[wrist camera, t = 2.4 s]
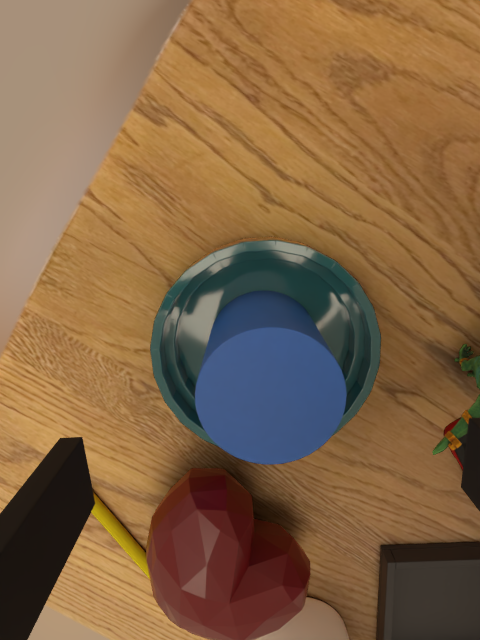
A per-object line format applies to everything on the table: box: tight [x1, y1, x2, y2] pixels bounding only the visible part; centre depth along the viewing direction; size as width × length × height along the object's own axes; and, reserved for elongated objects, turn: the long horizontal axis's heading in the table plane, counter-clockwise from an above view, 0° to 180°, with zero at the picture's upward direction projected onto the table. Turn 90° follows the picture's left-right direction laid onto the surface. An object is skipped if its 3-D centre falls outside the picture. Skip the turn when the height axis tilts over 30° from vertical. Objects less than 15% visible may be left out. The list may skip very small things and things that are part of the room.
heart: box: [146, 468, 310, 640], centre depth 26 cm, size 12×8×10 cm
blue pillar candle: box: [195, 291, 347, 464], centre depth 22 cm, size 7×7×8 cm
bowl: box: [150, 237, 381, 447], centre depth 25 cm, size 14×14×3 cm
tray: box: [377, 542, 480, 640], centre depth 31 cm, size 11×11×2 cm
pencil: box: [91, 492, 150, 579], centre depth 30 cm, size 16×1×1 cm, turn 32°
